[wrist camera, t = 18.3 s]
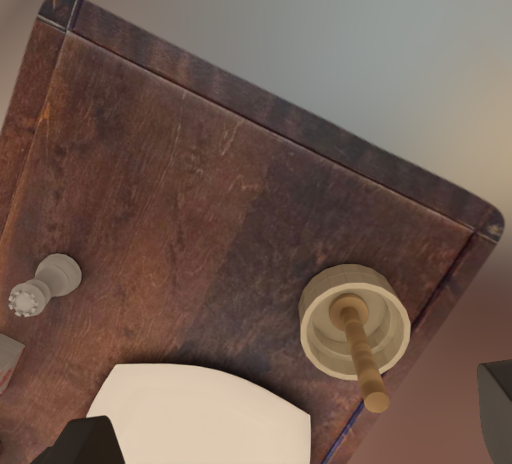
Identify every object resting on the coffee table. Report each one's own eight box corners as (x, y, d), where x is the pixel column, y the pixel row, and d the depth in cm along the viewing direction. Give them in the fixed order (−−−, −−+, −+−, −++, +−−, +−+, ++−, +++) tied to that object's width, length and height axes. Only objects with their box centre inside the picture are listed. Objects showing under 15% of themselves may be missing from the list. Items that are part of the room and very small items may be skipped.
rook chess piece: (38, 252, 48) (-8, 282, 40) (79, 251, 48) (41, 280, 40) (46, 291, 49) (3, 327, 42) (86, 290, 49) (50, 326, 41)
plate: (68, 512, 58) (61, 526, 56) (103, 330, 50) (96, 339, 48) (272, 563, 59) (271, 579, 57) (337, 391, 51) (339, 403, 49)
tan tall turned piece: (343, 285, 47) (372, 369, 32) (375, 306, 47) (416, 397, 33) (320, 314, 48) (338, 407, 33) (351, 334, 48) (381, 434, 34)
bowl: (336, 243, 46) (344, 262, 41) (416, 296, 47) (433, 321, 42) (279, 317, 49) (279, 344, 43) (355, 366, 50) (364, 398, 45)
